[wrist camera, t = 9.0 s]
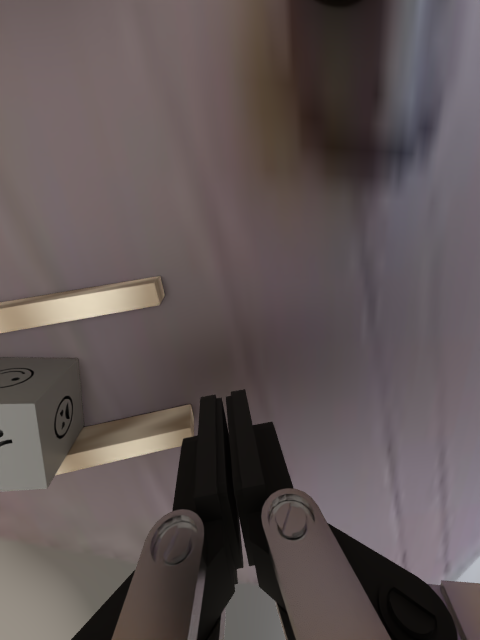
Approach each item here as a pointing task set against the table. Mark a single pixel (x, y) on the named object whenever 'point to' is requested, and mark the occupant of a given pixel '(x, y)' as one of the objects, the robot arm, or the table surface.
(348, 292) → the table surface
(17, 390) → the dice cube
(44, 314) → the bay
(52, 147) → the table surface
